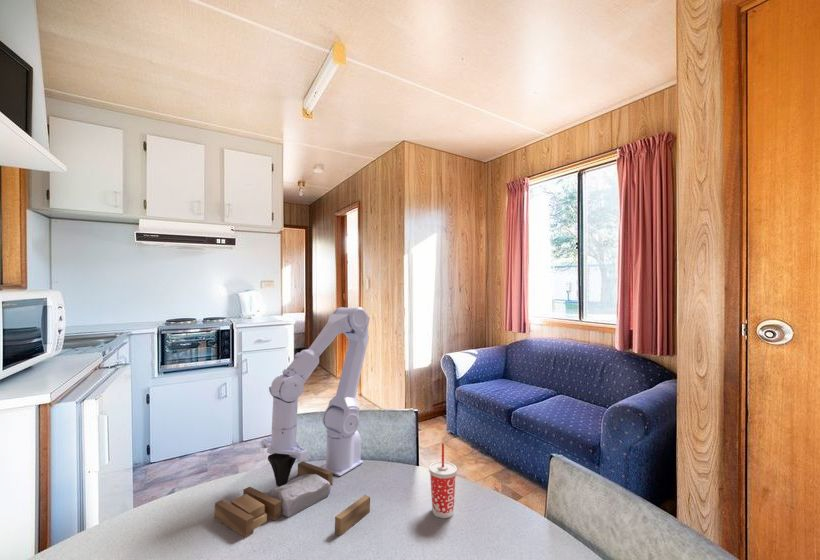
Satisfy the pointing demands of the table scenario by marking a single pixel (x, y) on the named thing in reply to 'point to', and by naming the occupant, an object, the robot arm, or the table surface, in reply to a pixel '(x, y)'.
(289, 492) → the stone block
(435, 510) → the beverage cup
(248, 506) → the offcut top
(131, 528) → the table surface
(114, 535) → the table surface
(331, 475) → the wooden bar set
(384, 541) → the table surface
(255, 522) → the offcut low
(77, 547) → the table surface
